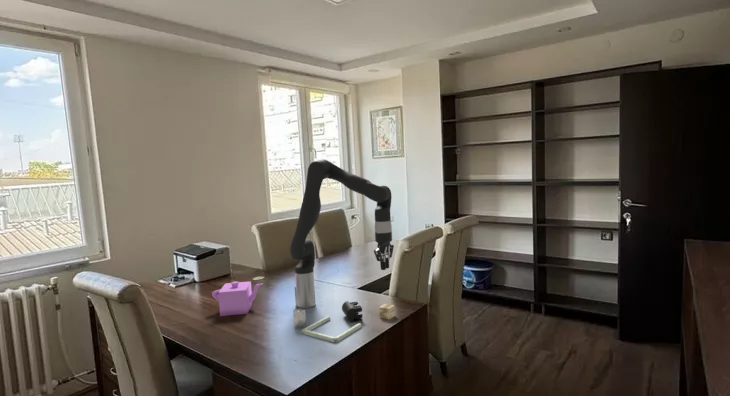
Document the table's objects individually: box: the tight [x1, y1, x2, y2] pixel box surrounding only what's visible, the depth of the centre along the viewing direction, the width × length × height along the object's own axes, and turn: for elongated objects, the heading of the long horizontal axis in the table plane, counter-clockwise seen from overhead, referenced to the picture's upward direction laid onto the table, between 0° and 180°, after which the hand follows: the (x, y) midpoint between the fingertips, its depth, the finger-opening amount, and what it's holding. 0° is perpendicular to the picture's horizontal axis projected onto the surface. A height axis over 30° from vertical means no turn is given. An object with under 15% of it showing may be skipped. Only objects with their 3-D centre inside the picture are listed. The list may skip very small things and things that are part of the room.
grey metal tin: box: [293, 308, 307, 330], centre depth 174 cm, size 5×5×7 cm
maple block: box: [378, 303, 396, 320], centre depth 180 cm, size 5×5×5 cm
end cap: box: [341, 300, 363, 323], centre depth 180 cm, size 10×7×7 cm
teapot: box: [211, 281, 264, 317], centre depth 199 cm, size 15×25×14 cm, turn 98°
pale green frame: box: [301, 315, 362, 344], centre depth 168 cm, size 18×17×2 cm
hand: (385, 268), depth 178 cm, fingers closed
